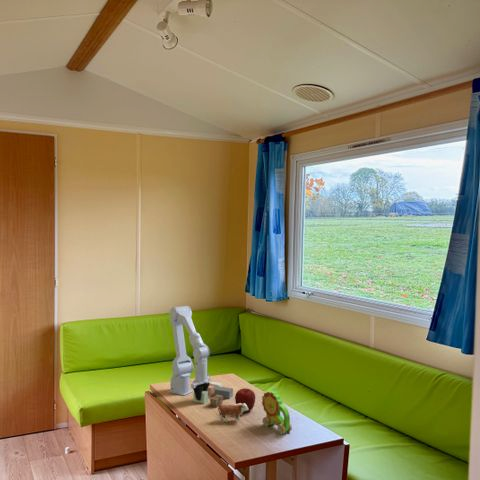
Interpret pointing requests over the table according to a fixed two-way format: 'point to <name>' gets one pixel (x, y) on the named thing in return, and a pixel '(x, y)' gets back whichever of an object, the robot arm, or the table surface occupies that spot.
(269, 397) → the toy lion
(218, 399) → the walnut brick
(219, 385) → the pale grey brick
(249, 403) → the apple
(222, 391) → the charcoal brick
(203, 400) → the sage brick
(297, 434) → the table surface
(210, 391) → the terracotta brick
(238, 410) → the bull figurine
